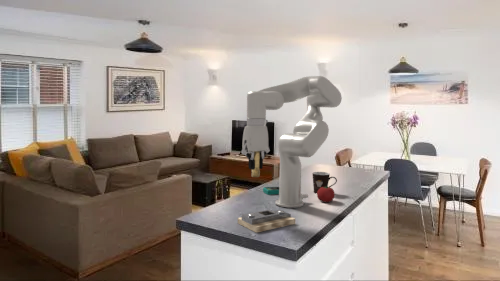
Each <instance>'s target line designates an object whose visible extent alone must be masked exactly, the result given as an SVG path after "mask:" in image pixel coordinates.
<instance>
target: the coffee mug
mask: <svg viewBox="0 0 500 281" xmlns="http://www.w3.org/2000/svg"><path fill="white" fill-rule="evenodd" d="M331 179H334V180H335V182H334V183H333V184H331V185H329V181H330V180H331ZM337 181H338V180H337V177H335V176H330V172H327V171H312V184H313V185H312V186H313V193H314V194H316V193H317V192H318V190H319V189H320V188H321V187H326V186H327V187H330V188H332V187H333V186H334V185H336V184H337Z"/></svg>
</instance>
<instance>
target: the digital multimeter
mask: <svg viewBox="0 0 500 281" xmlns="http://www.w3.org/2000/svg"><path fill="white" fill-rule="evenodd" d="M262 192H263V193H264V194H266V195H268V196H270V195H271V196H273V195H279V186H264V187H262Z"/></svg>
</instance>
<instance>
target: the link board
mask: <svg viewBox="0 0 500 281" xmlns="http://www.w3.org/2000/svg"><path fill="white" fill-rule="evenodd" d="M237 224H238V225H240V226H242V227H244V228H246V229H248V230H250V231H252V232H254V233H261V232H266V231H270V230H273V229H278V228H283V227H287V226H292V225H296V218H295V217H292V216H291V217H287V218H283V219H278V220H273V221H268V222H263V223H259V224H254V225H251V224H249V223H247V222H245V221H243V220H242V216H240V217H237Z"/></svg>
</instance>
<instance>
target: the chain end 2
mask: <svg viewBox="0 0 500 281" xmlns="http://www.w3.org/2000/svg"><path fill="white" fill-rule="evenodd" d="M274 211H275V212H277V213H280V217H275V218H270V219H265V220H264V222H268V221H273V220H278V219H283V218H287V217H292V215H291V213H290V212H286V211H284V210H281V209H278V210H274ZM263 215H265V216H266V215H271V214H268V213H266V214H263Z"/></svg>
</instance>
